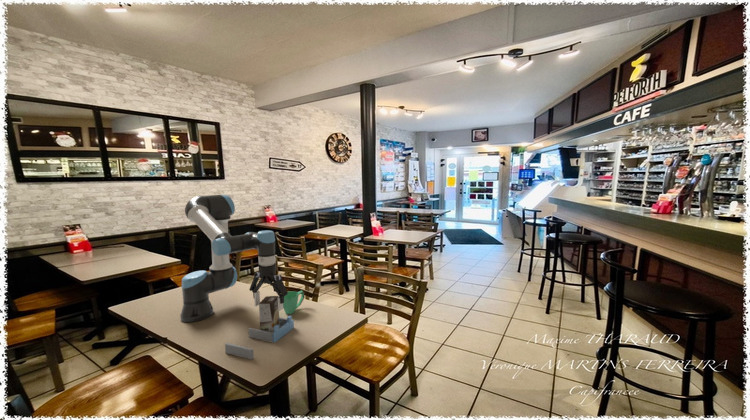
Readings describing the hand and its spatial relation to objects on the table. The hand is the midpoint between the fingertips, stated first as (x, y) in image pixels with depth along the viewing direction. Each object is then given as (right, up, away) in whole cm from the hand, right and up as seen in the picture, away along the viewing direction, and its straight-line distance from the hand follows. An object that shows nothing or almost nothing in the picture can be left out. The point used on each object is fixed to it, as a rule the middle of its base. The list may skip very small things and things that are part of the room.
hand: (268, 307), depth 135 cm
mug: (+5, -10, +24) cm, 26 cm away
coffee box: (0, -12, +1) cm, 12 cm away
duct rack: (-1, -13, -5) cm, 14 cm away
